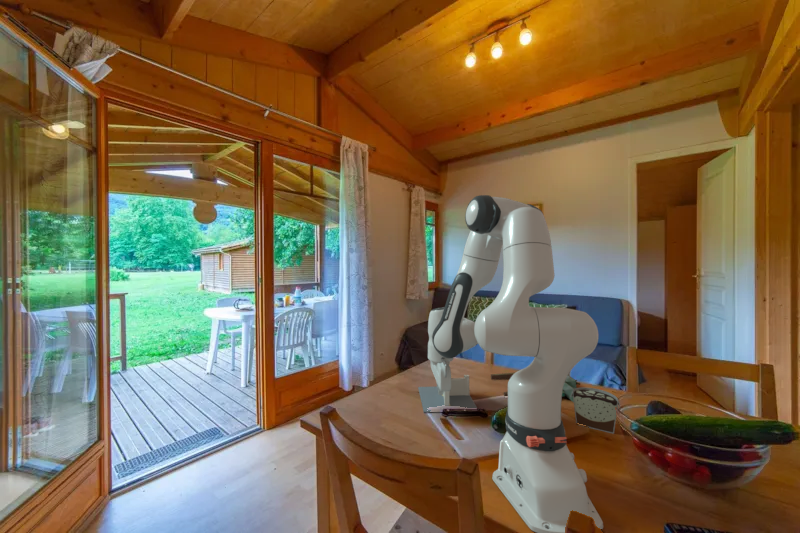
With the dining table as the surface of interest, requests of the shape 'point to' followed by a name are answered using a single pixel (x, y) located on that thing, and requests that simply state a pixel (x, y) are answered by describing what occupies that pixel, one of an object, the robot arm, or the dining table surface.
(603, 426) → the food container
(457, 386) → the fence fixed section
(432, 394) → the card
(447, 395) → the fence panel
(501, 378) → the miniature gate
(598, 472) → the dining table surface
